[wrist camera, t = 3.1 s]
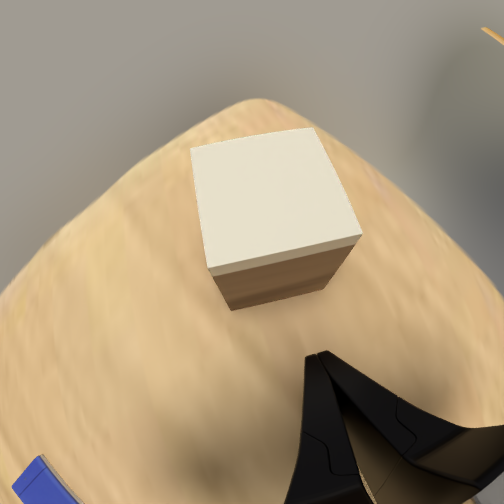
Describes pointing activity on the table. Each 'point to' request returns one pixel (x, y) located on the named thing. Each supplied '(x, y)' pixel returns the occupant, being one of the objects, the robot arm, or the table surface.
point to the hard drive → (43, 485)
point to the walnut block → (271, 215)
